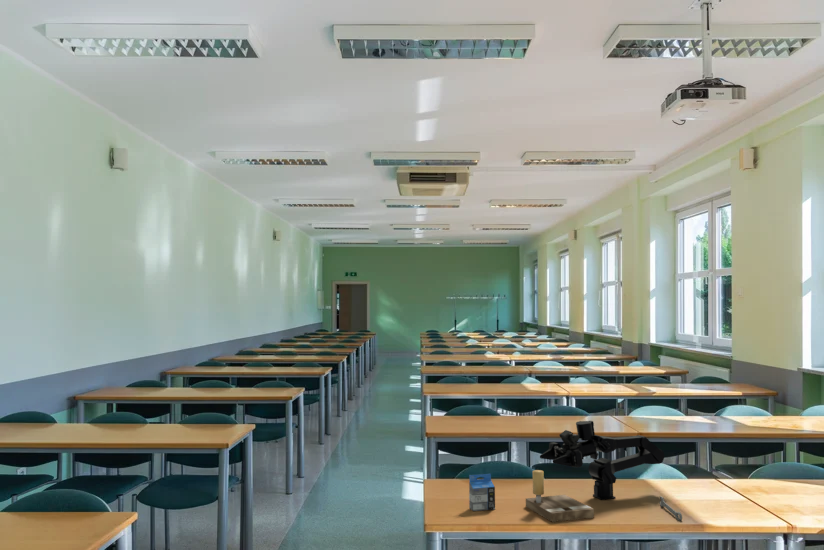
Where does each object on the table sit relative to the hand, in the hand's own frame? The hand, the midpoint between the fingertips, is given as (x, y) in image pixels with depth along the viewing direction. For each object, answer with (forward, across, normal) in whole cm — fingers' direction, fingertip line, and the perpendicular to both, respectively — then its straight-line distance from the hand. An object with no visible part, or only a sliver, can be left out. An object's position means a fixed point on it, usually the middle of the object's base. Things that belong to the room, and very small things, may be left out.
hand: (546, 459), depth 257 cm
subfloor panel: (+4, +10, +16) cm, 20 cm away
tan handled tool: (+9, +6, +15) cm, 19 cm away
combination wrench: (-32, +26, +22) cm, 47 cm away
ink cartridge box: (+28, -3, +13) cm, 31 cm away
